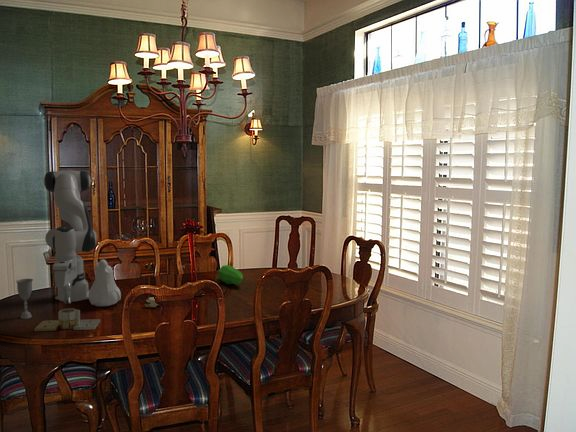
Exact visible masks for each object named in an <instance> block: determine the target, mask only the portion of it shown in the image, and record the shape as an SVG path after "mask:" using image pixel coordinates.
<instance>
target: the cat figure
mask: <svg viewBox="0 0 576 432" xmlns="http://www.w3.org/2000/svg"><path fill="white" fill-rule="evenodd" d="M143 305H145V308H157V307H158V304H156V303H155V299H154V296H153V297H148V298H147V299H146V300H145V303H144V304H143ZM156 306H157V307H156Z"/></svg>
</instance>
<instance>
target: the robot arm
mask: <svg viewBox="0 0 576 432" xmlns="http://www.w3.org/2000/svg"><path fill="white" fill-rule="evenodd" d="M91 183H92V178H91V175H90V174H89V172H88V171H84V170H70V169H69V170H68V169H67V170H59V171H58V170H57V171H53V170H51V171H47V172H46V173H45V175H44V178H43V185H44V187H45V190H47V191H48V192H52V193H53V200H54V204H55V206H56V207H57V208H58V216H59V218H60V219H61V220H62V221H63V222H66V223H67V224H69V225H63V226H59V227H57V228H51V229H48V231H47V233H46V234H45V237H44V240H45V244H46V245H47V246H48V247H49V248H51V249H52V250H54V251H55V255H54V263H53V265H52V270H53V271H54V272H53V277H54V285H55V287H56V288H57V296H55V297H54V298H55V300H58V301H60V302H64V294H67V293H68V289H67V286H68V284H69V283H70V282H71V303H73V302H79V301H84V300H89V290H90V288H89V282H88V281H87V280H86V271H85V270H84V259H83V257H82V256H81V255H80V254H78V253H77V252H79V253H91V252H92V251H93V250H95V248H96V246H97V240H98V235H97V233H96V231H95V230H94V229H93V225H92V221H91V216H90V212H89V210H88V206H87V204H86V202H85V201H83V200H81V193H84V192H86V191H87V190H89V189H90V187H91Z"/></svg>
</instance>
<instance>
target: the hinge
mask: <svg viewBox="0 0 576 432" xmlns="http://www.w3.org/2000/svg"><path fill="white" fill-rule="evenodd" d="M57 314H58V320H57V319H53V320H52V319H50V320H43V321H41V322H40V323H39V324H38V325H36V327H35V328H34V329H33V330H34V332H51V331H52V332H53V331H54V332H55V331H57V330H59V329H61V330H69V329H72V331H87V330H89V331H91V330H92V331H94V330H95V329H96V328H97V327H98V325H99V324H100V323H101V319H100V318H98V319H96V318H95V319H94V318H93V319H81V310H80V309H76V308H73V307H71V308H70V307H69V308H64V309H60V310H59V311H58V312H57Z"/></svg>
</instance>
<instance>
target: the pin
mask: <svg viewBox="0 0 576 432" xmlns="http://www.w3.org/2000/svg"><path fill="white" fill-rule="evenodd" d="M67 289H68V293H67V294H64V301H63V304H66V305H67V304H72V302H71V282H70V283H69V284H68V286H67Z"/></svg>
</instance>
